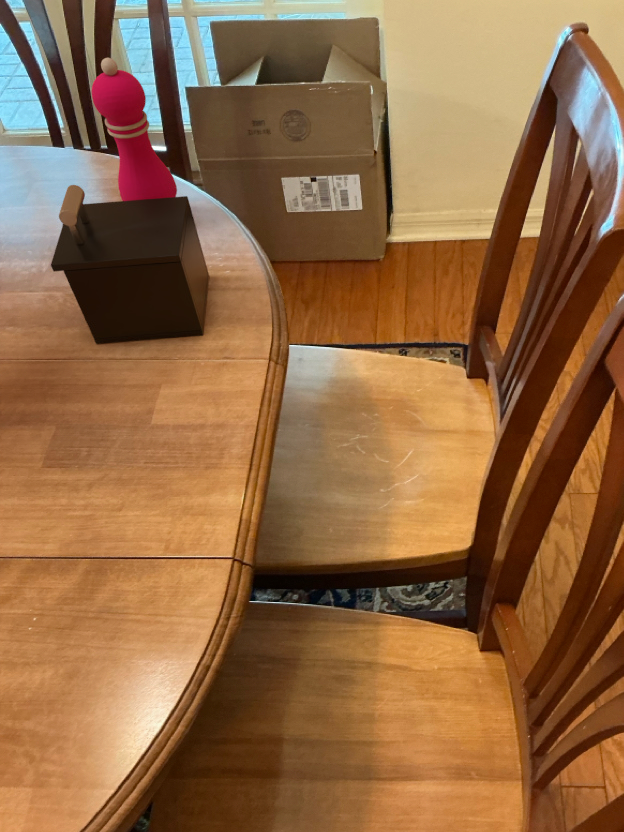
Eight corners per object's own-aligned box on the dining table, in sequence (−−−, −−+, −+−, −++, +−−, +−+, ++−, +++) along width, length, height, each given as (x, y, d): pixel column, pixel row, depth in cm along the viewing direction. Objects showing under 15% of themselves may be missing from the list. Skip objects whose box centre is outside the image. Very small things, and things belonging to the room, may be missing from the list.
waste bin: (95, 344, 89) (63, 271, 81) (109, 283, 95) (80, 211, 88) (203, 335, 89) (181, 262, 81) (209, 275, 96) (189, 202, 88)
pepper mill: (193, 223, 103) (148, 60, 86) (143, 242, 100) (87, 79, 84) (171, 199, 106) (124, 39, 90) (122, 217, 104) (65, 56, 88)
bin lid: (53, 271, 81) (34, 230, 77) (71, 211, 88) (54, 170, 84) (180, 261, 81) (168, 219, 77) (189, 202, 88) (177, 161, 84)
